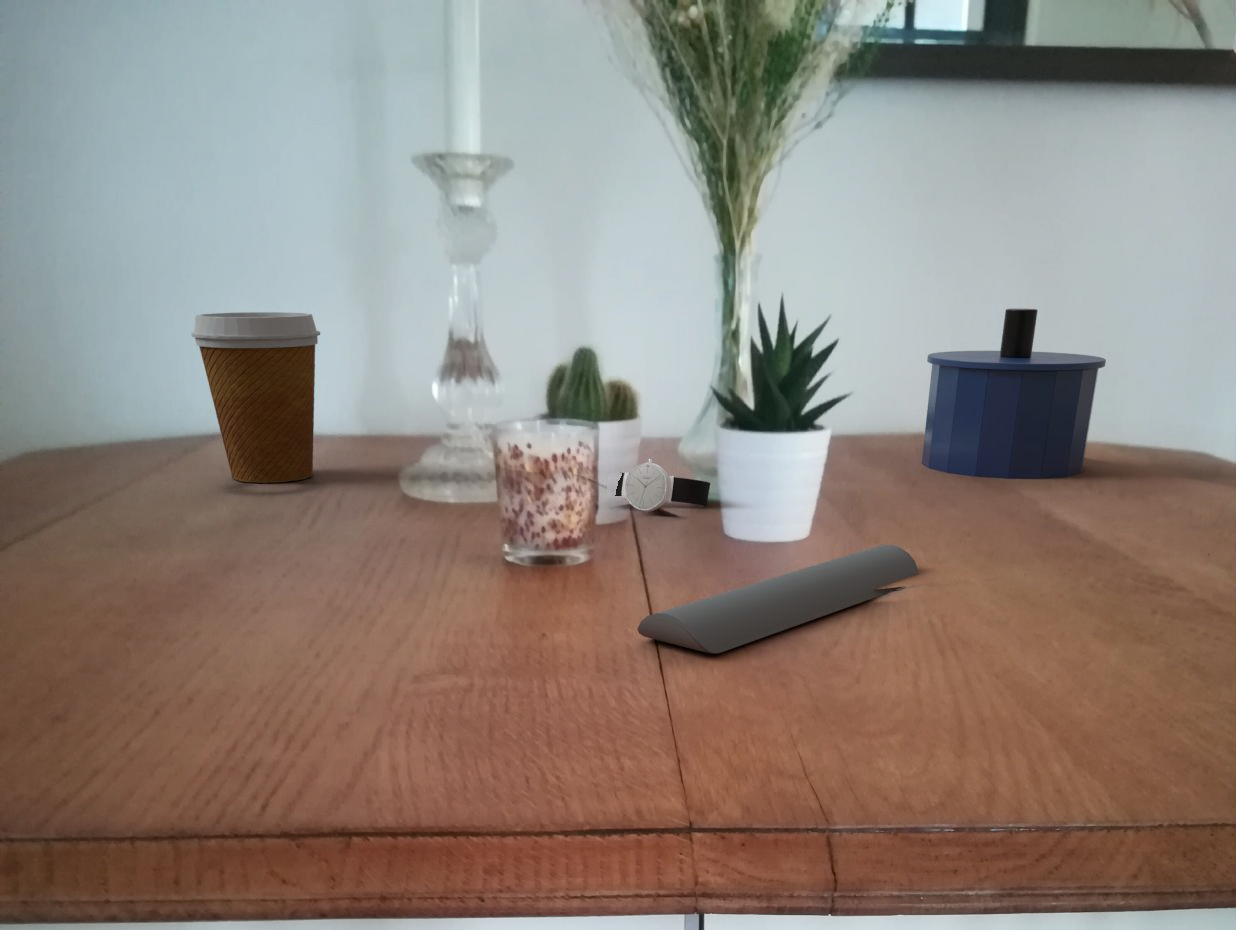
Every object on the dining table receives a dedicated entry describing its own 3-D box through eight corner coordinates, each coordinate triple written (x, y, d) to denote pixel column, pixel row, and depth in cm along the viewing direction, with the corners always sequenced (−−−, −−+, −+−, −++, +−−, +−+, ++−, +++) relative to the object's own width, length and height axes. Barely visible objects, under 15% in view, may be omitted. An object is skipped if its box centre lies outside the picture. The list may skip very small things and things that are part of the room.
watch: (593, 510, 86) (593, 456, 84) (623, 499, 89) (624, 448, 88) (693, 520, 82) (695, 465, 81) (721, 508, 86) (723, 455, 85)
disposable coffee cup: (184, 479, 96) (161, 315, 91) (274, 463, 104) (257, 310, 99) (270, 491, 92) (251, 319, 87) (358, 473, 99) (344, 314, 94)
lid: (1025, 362, 106) (1032, 304, 104) (1142, 376, 94) (1153, 311, 92) (892, 367, 101) (898, 306, 99) (999, 381, 89) (1008, 314, 87)
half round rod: (923, 583, 67) (926, 550, 66) (701, 662, 54) (703, 623, 53) (856, 570, 69) (858, 539, 69) (629, 643, 56) (630, 605, 55)
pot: (1011, 457, 108) (1025, 355, 105) (1114, 480, 98) (1134, 367, 94) (892, 466, 104) (902, 359, 100) (986, 490, 93) (1002, 372, 90)
